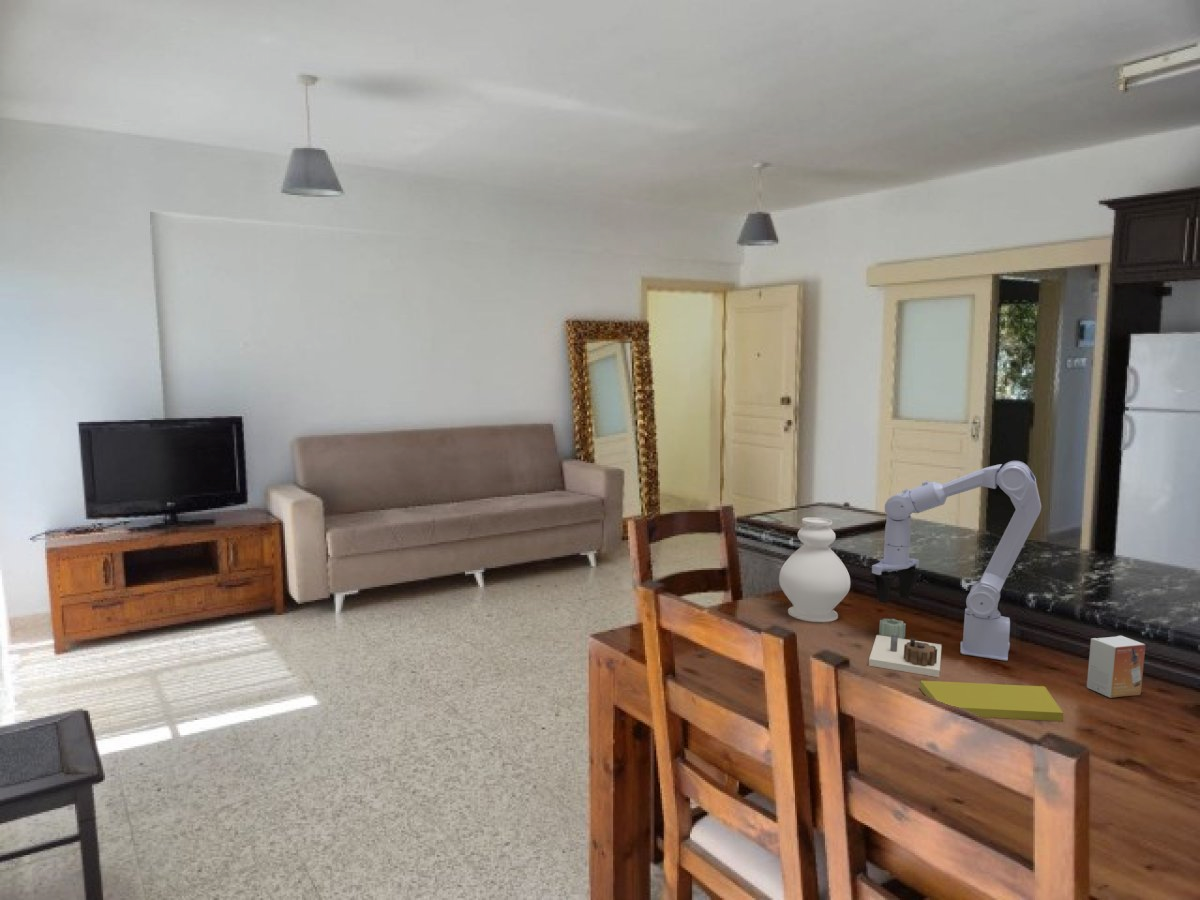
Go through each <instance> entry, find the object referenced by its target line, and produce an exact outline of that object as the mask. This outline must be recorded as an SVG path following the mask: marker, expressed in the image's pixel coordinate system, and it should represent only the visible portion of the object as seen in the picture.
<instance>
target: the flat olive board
mask: <svg viewBox="0 0 1200 900" xmlns="http://www.w3.org/2000/svg"><path fill="white" fill-rule="evenodd" d="M919 681H920V683H919V689H920V691H921V692H922V693H923V695H925V696H928V697H931V698H933V699H935V700H937V701H940V702H943V703H945V704H948V705H951V706H956V707H959V708H962V709H965V710H967V711H969V712H972V713H974V714H976V715H979V716H981V717H980V718H987V719H988V718H989V719H990V718H991V719H992V718H993V719H995V718H994V717H999V718H998V719H1006V720H1007V719H1009V720H1011V719H1012V720H1027V721H1028V720H1031V721H1047V722H1049V721H1050V722H1052V721H1053V722H1064V721H1063V720H1064V712H1063V710H1062V709H1061V708H1060V706H1059V705H1058V702H1056V701H1055V699H1054V697H1053V696H1052V694H1051V693H1050V692H1049V690H1048V689H1047V687H1046V686H1043V685H1039V686H1038V685H1023V684H1022V685H1019V684H1000V683H999V684H998V683H980V682H979V683H978V682H960V681H959V682H958V681H956V682H955V681H940V680H939V681H938V680H937V681H936V680H919Z"/></svg>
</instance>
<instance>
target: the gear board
mask: <svg viewBox="0 0 1200 900" xmlns="http://www.w3.org/2000/svg"><path fill="white" fill-rule="evenodd" d="M908 642H910V639H906V638H902V639H901V638H898V635H897V634H896V633H893V634H892V635H891V637H888V636H881V635H879V634H876V635H875V639H874V643H873V646H872V648H871V652H870V655H869V658H868V666H869V667H876V668H881V669H887V670H892V671H899V672H905V673H910V674H917V675H923V676H929V677H935V678H940V672H941V660H942V659H941V658H942V644H941V643H934V642H926V641H919V640H915V642H920V643H927V644H929V645H930V646H935V647H936V649H937V662H936V663H934V665H933V666H931V665H927V666H922V665H919V664H917V665H915V664H912V662H907V661H905V658H904V645H905V644H907V643H908Z"/></svg>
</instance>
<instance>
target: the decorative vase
mask: <svg viewBox="0 0 1200 900" xmlns="http://www.w3.org/2000/svg"><path fill="white" fill-rule="evenodd" d="M801 523H802V524H804V526H802V527H801V528H800V529H799V530H798V531H797V538H798V539H799V541H800V542H801V543H802V544H803V545H802V546H800V547H799V548H798V549H796V550H795V551H794V552H793V553H792V554H791V555H790V556H789V557H788V558H787V559H786V561H785V562H784V564H783V565H782V566H781V569H780V571H779V576H778V581H779V587H780V588H781V590H782V592H783V593H784V595H785V596H786V597H787V598H788V599H787V600H789V602H790V603H791V604H792V606H790V607H789V608H788V609H787V613H788V615H789V616H791V617H792V618H795V619H797V620H801V621H803V622H804V621H805V622H812V623H828V622H833V621H834V622H835V621H836V620H837V619H838V618H839V614H838V612H837V611H835V608H836V606H838V605H839V604H840V603H841V602H842V601H843V600H844V599H845V597H846V596H847V595H848V593H849V591H850V589H851V577H850V574H849V573H850V572H848V569H847V567H846V566H845V564H844V563H843V561H842V560H841V559H840V557H839V556H838V555H837V554H836V553H835V552H834V551H833V550H832V548H830V547H829V546H830V545H831V544H833V543H834V541H836V532H834V530H832V529H833V528H831V527H829V526H831V525H833V520H832V519H830V518H825V517H817V516H815V517H813V516H811V517H810V516H809V517H808V516H807V517H803V518H802V519H801Z"/></svg>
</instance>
